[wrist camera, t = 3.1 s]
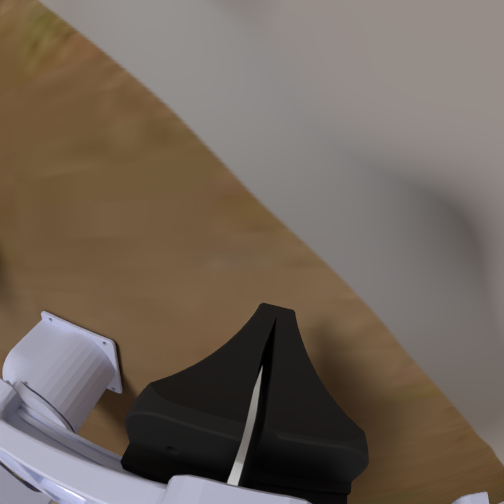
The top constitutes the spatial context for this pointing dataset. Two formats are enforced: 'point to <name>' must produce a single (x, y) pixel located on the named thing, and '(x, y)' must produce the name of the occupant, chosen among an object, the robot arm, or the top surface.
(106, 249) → the top surface
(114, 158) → the top surface
